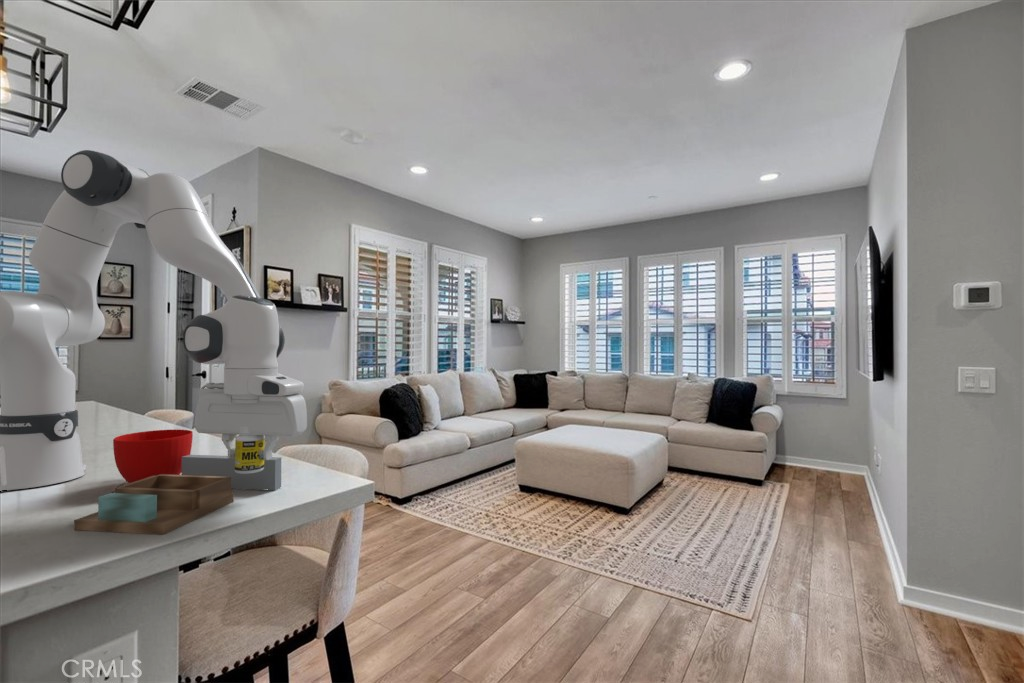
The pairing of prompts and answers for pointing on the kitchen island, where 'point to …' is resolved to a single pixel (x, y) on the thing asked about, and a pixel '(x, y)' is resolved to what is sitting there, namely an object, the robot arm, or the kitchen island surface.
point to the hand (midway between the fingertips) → (250, 458)
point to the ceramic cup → (151, 453)
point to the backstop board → (226, 467)
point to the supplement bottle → (248, 452)
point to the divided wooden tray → (158, 504)
